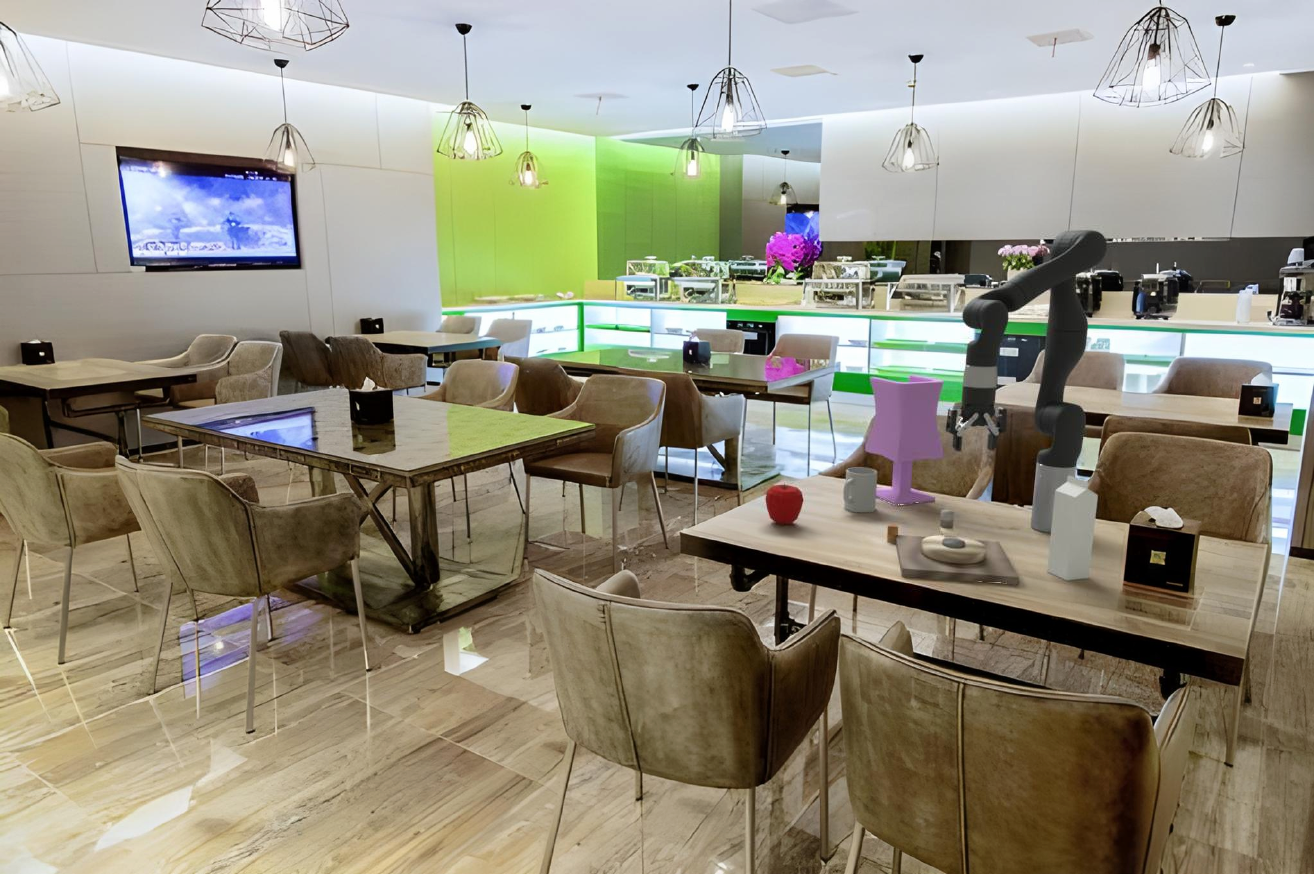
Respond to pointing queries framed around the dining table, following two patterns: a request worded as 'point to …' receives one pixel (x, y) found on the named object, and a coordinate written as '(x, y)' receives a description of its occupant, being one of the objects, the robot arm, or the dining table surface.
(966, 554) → the crank handle
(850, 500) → the mug
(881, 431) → the table lamp
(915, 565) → the base plate
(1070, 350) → the robot arm
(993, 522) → the dining table surface
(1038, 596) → the dining table surface
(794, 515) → the apple
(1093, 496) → the milk
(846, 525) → the dining table surface
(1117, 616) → the dining table surface
